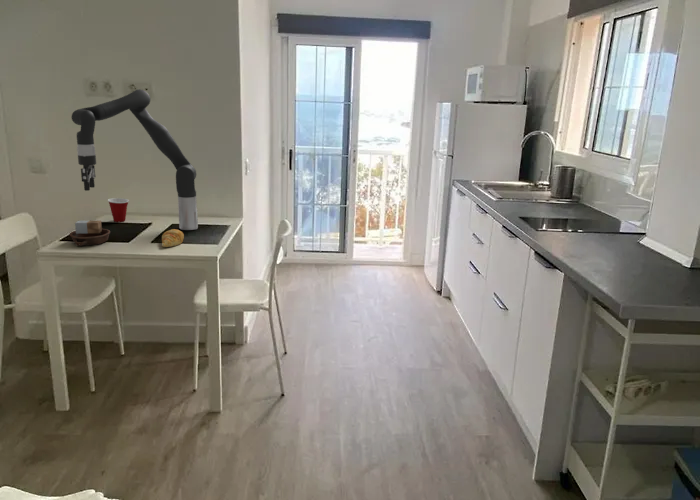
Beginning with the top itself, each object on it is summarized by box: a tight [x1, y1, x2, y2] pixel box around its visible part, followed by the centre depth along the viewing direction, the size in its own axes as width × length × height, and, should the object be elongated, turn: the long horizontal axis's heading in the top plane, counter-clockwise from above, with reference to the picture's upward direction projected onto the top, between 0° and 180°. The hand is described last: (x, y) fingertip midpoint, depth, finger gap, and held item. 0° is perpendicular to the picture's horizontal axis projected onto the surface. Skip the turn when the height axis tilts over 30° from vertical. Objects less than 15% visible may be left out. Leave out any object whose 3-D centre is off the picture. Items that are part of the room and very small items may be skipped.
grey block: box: [74, 220, 90, 234], centre depth 260 cm, size 5×5×5 cm
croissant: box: [161, 228, 185, 248], centre depth 265 cm, size 21×10×8 cm, turn 176°
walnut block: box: [87, 220, 103, 233], centre depth 261 cm, size 5×5×5 cm
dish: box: [68, 228, 111, 247], centre depth 262 cm, size 18×22×5 cm
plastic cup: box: [107, 197, 130, 223], centre depth 303 cm, size 11×11×12 cm
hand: (89, 188), depth 262 cm, fingers open, 8 cm apart
